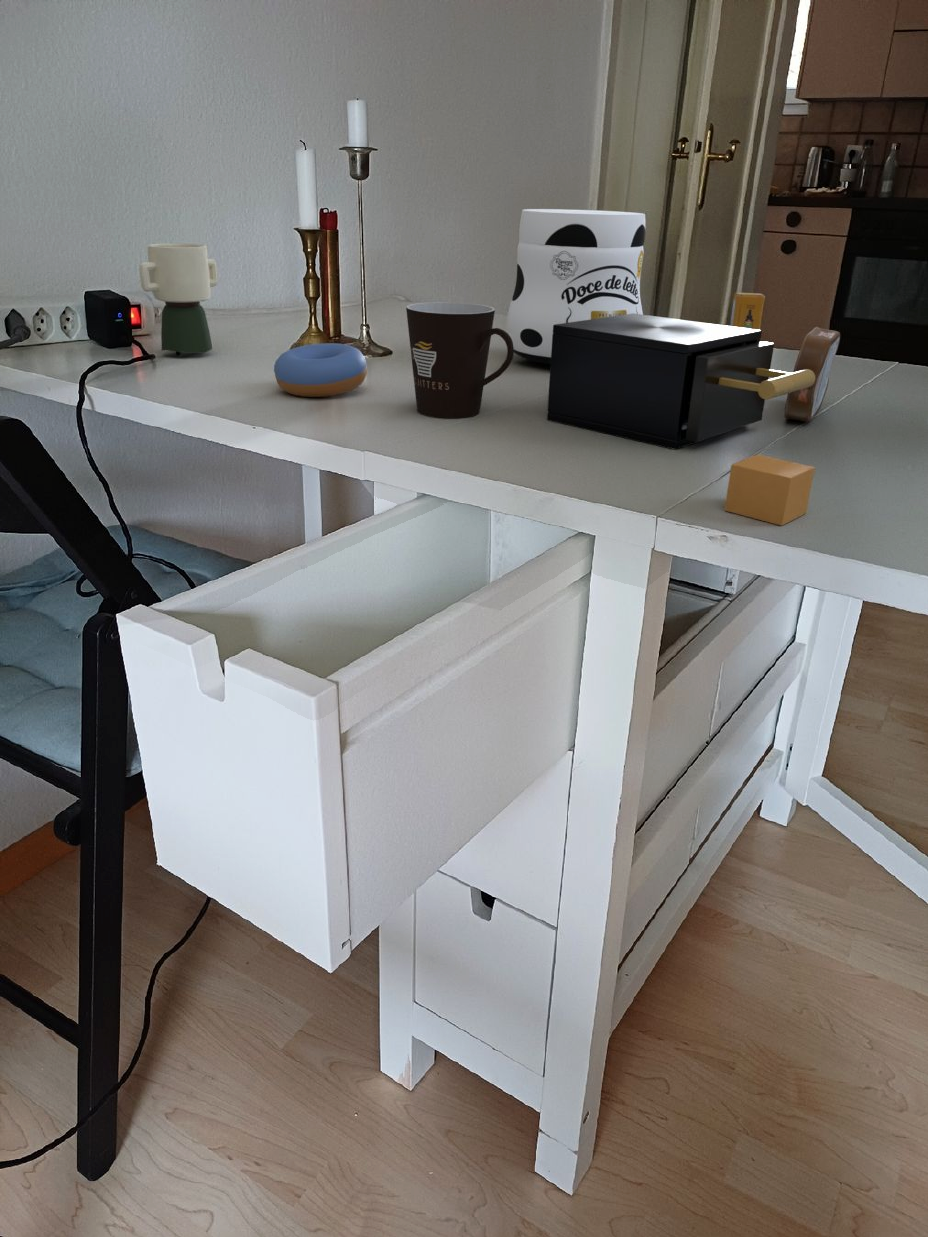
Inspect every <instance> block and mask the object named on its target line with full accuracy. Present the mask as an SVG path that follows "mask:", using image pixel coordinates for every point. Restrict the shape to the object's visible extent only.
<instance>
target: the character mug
mask: <svg viewBox="0 0 928 1237" xmlns="http://www.w3.org/2000/svg"><path fill="white" fill-rule="evenodd" d="M147 258H148V259H147V260H148V261H146V262H145V261H143V262H141V263H140V264H139V268H138V270H139V279H140V287H141V289H142V291H143V292H146V293H147V292H148V293H149V292H151V293H152V295H153V297H154V299H155V300H157V301H160V302H164V304H165V305H164V306H163V308H162V311H161V331H160V334H161V335H160V339H161V351H167V352H168V351H169V352H175V356H178V357H179V356H181V354H182V353H185V354H201V353H208V352H209V351H211V350H213V343H212V337H211V332H210V327H209V324H208V319H207V314H206V311H205V309H204V307H203V305H201V302H205V301H208V300H209V299H211V294H212V291H211V288H213V287H216V286H218V283H219V278H218V266H217V265H218V264H217V262H216V260H215V259H213V258H208V250H207V245H205V244H197V243H196V244H195V243H173V242H172V243H171V242H170V243H166V242H165V243H152V244H147Z"/></svg>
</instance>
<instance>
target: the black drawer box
mask: <svg viewBox="0 0 928 1237" xmlns="http://www.w3.org/2000/svg"><path fill="white" fill-rule="evenodd" d="M762 334H763V331H762V330H761V329H760V330H755V329H747V328H740V327H732V326H730V325H723V324H717V323H708V322H700V321H693V320H687V319H679V318H672V317H671V318H670V317H662V316H655V315H647V314H643V315H641V314H634V313H633V314H626V315H619V316H612V317H605V318H598V319H591V320H584V321H577V322H569V323H562V324H555V325H553V335H552V350H551V365H549V366H550V367H549V383H548V397H547V398H548V399H547V414H546V415H547V416H546V421H549V422H550V421H551V422H555V423H559V424H563V425H568V426H572V427H576V428H580V429H585V430H589V431H593V432H597V433H602V434H606V435H611V436H615V437H619V438H624V439H628V440H632V441H637V442H641V443H645V444H648V445H649V444H650V445H655V446H658V447H662V448H667V449H672V450H677V449H680V448H683V447H686V446H690V445H693V444H695V443H696V442H694V441H689V440H685V438H686V430H687V429H685V430H682V425H683V418H684V410H685V402H686V394H687V387H688V379H689V371H690V363H691V356H692V354H691V353H696V352H700V351H705V350H710V349H715V348H719V347H724V346H729V345H734V344H738V343H743V342H745V343H746V345H750V344H754V343H759V342H762V340H761V339H762Z"/></svg>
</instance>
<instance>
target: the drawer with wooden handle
mask: <svg viewBox="0 0 928 1237" xmlns="http://www.w3.org/2000/svg"><path fill="white" fill-rule="evenodd" d="M774 348H775V343H774V342H769V341H760V342H759V343H754V344H750V345H746V343H745V342H743V343H738V344H734V345H729V346H724V347H719V348H715V349H710V350H705V351H700V352H696V353H691V354H692V356H691V363H690V371H689V379H688V387H687V394H686V402H685V410H684V418H683V425H682V430H685V429H687V430H686V438H685V440H689V441H694V442H695V443H699V442H701V441H704V440H707V439H710V438H712V437H716V436H719V435H722V434H725V433H727V432H732V431H734V430H737V429H740V428H743V427H745V426H748V425H752V424H755V423H757V422H760V421H762V420H763V415H764V408H765V403H766V400H767V401H768V400H771V399H775V398H778V397H781V396H784V395H788V393H791V392H794V391H798V390H801V389H804V388H807V387H810V386H812V385H813V384H814V382H815V374H814V372H813V371H811V370H809V369H805V370H801V371H798V372H794V373H793V372H789V371H782V370H778V369H777V370H776V369H771V366H772V360H773V354H774Z"/></svg>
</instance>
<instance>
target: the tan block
mask: <svg viewBox="0 0 928 1237" xmlns="http://www.w3.org/2000/svg"><path fill="white" fill-rule="evenodd" d="M730 466H731V467H730V471H729V472H730V473H729V479H728V486H727V491H726V498H725V504H724V511H725V512H729V513H733V514H735V515H740V516H743V517H747V518H751V519H753V520H758V521H763V522H765V523H770V524H774V525H776V526H780V527H782V526H784V525H786V524H788V523H790V522H792V521H794V520H796V519H797V518H800V517H802V516H804V515H805V514H807V511H808V507H809V506H808V505H809V500H810V496H811V490H812V485H813V480H814V474H815V471H816V470H815V469H816V467H815V466H812V465H807V464H803V463H798V462H793V461H790V460H784V459H780V458H776V457H771V456H766V455H762V454H755V455H752V456H749V457H747V458H744V459H743V460H739V461H737V462H735V463H734V462H733V463H732V464H731V465H730Z"/></svg>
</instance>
